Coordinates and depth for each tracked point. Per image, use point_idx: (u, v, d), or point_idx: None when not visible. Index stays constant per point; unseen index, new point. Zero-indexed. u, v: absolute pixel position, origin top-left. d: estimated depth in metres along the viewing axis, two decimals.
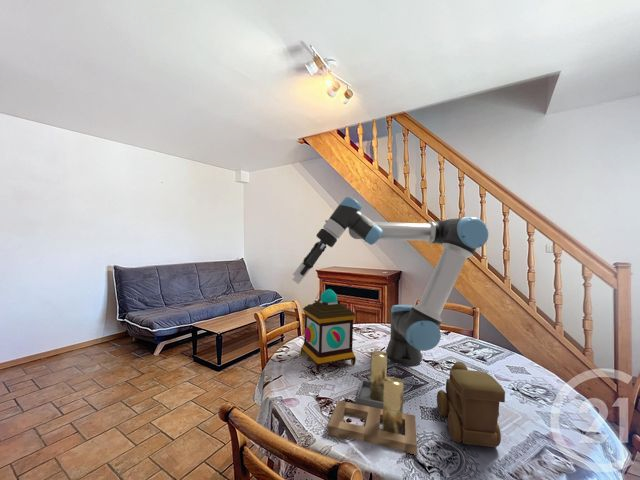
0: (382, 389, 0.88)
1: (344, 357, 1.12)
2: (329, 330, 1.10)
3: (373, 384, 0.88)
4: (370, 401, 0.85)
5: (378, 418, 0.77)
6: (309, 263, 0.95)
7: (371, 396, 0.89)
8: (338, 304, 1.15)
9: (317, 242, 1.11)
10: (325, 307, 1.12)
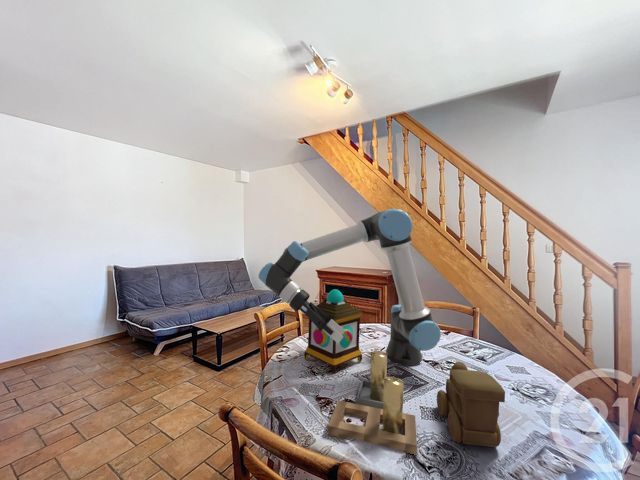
0: (382, 389, 0.88)
1: (354, 355, 1.13)
2: None
3: (373, 384, 0.88)
4: (370, 401, 0.85)
5: (378, 418, 0.77)
6: (319, 325, 0.88)
7: (371, 396, 0.89)
8: (345, 303, 1.16)
9: None
10: (336, 307, 1.11)
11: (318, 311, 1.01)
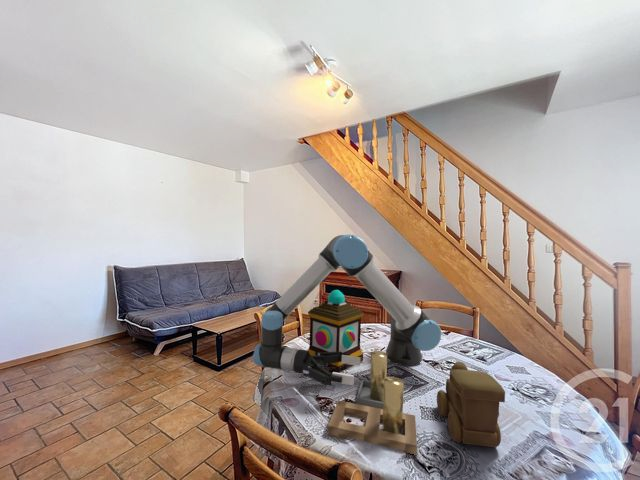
0: (382, 389, 0.88)
1: (356, 355, 1.14)
2: (344, 331, 1.10)
3: (373, 384, 0.88)
4: (370, 401, 0.85)
5: (378, 418, 0.77)
6: (324, 381, 0.85)
7: (371, 396, 0.89)
8: (347, 304, 1.16)
9: None
10: (339, 308, 1.11)
11: (325, 358, 0.98)
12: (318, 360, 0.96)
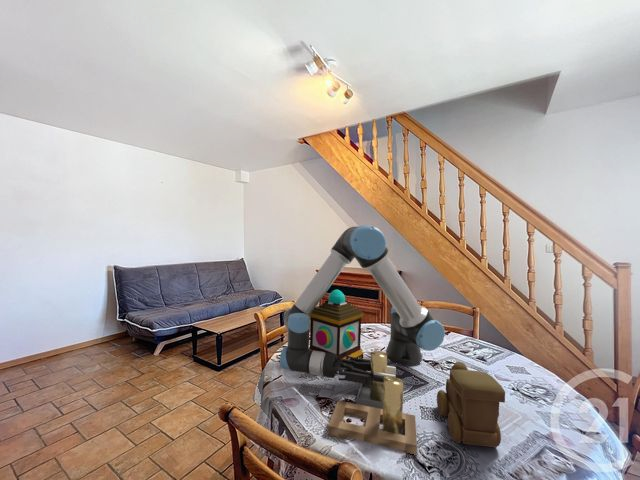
0: (382, 389, 0.88)
1: (356, 355, 1.14)
2: (345, 331, 1.10)
3: (373, 384, 0.88)
4: (370, 401, 0.85)
5: (378, 418, 0.77)
6: (367, 381, 0.85)
7: (371, 396, 0.89)
8: (347, 304, 1.16)
9: None
10: (339, 308, 1.11)
11: (354, 364, 0.94)
12: (347, 364, 0.93)
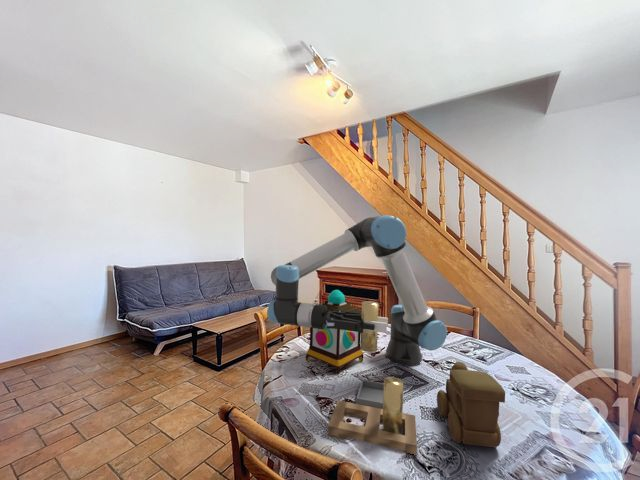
0: (373, 338, 0.83)
1: (356, 355, 1.14)
2: (344, 331, 1.10)
3: (364, 334, 0.84)
4: (370, 401, 0.85)
5: (378, 418, 0.77)
6: (356, 328, 0.81)
7: (361, 347, 0.85)
8: (347, 304, 1.16)
9: None
10: (339, 308, 1.11)
11: (345, 315, 0.90)
12: (337, 315, 0.89)
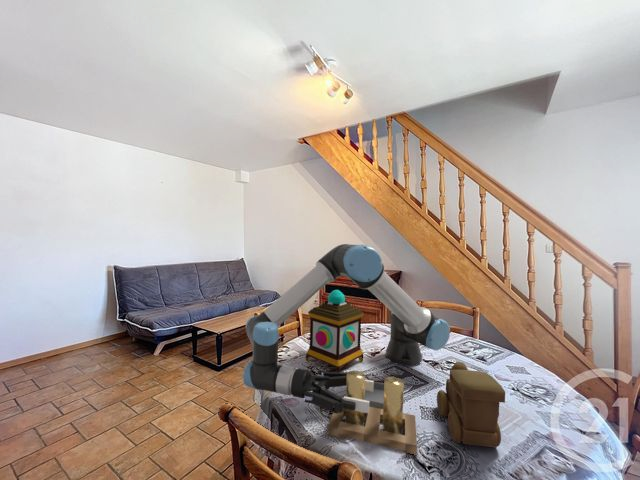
0: (359, 417, 0.75)
1: (356, 355, 1.14)
2: (344, 331, 1.10)
3: (349, 411, 0.76)
4: (370, 401, 0.85)
5: (378, 418, 0.77)
6: (334, 409, 0.70)
7: None
8: (347, 304, 1.16)
9: None
10: (339, 308, 1.11)
11: (329, 380, 0.82)
12: (320, 382, 0.80)
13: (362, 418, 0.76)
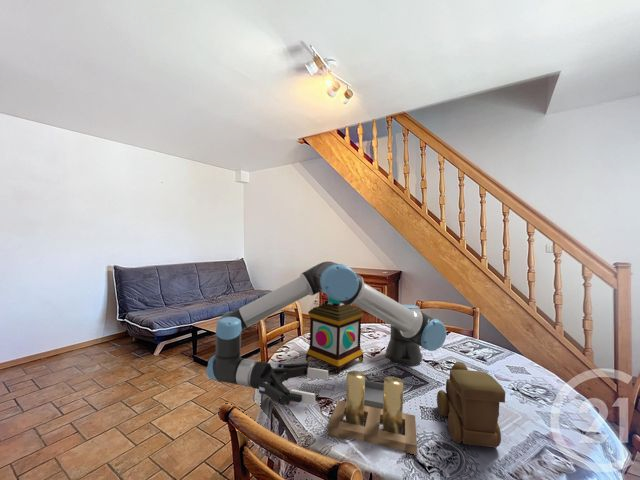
0: (359, 417, 0.75)
1: (356, 355, 1.14)
2: (344, 331, 1.10)
3: (349, 411, 0.76)
4: (370, 401, 0.85)
5: (378, 418, 0.77)
6: (280, 401, 0.73)
7: None
8: None
9: None
10: (339, 308, 1.11)
11: (288, 371, 0.86)
12: (279, 374, 0.84)
13: (362, 418, 0.76)
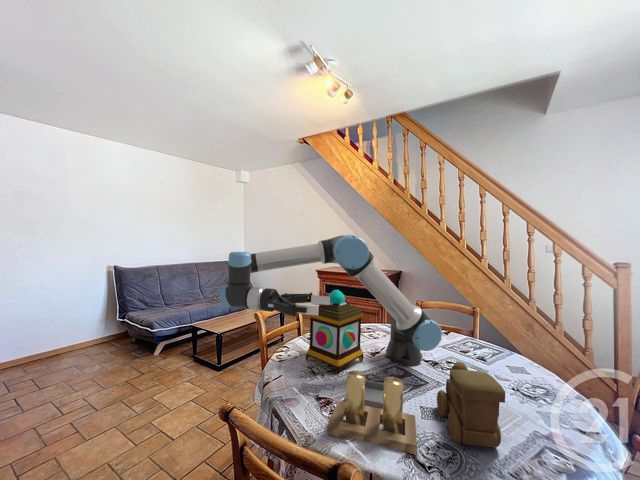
0: (359, 417, 0.75)
1: (356, 355, 1.14)
2: (344, 331, 1.10)
3: (349, 411, 0.76)
4: (370, 401, 0.85)
5: (378, 418, 0.77)
6: (287, 311, 0.82)
7: None
8: (347, 304, 1.16)
9: None
10: (339, 308, 1.11)
11: (293, 297, 0.95)
12: (286, 298, 0.93)
13: (362, 418, 0.76)
